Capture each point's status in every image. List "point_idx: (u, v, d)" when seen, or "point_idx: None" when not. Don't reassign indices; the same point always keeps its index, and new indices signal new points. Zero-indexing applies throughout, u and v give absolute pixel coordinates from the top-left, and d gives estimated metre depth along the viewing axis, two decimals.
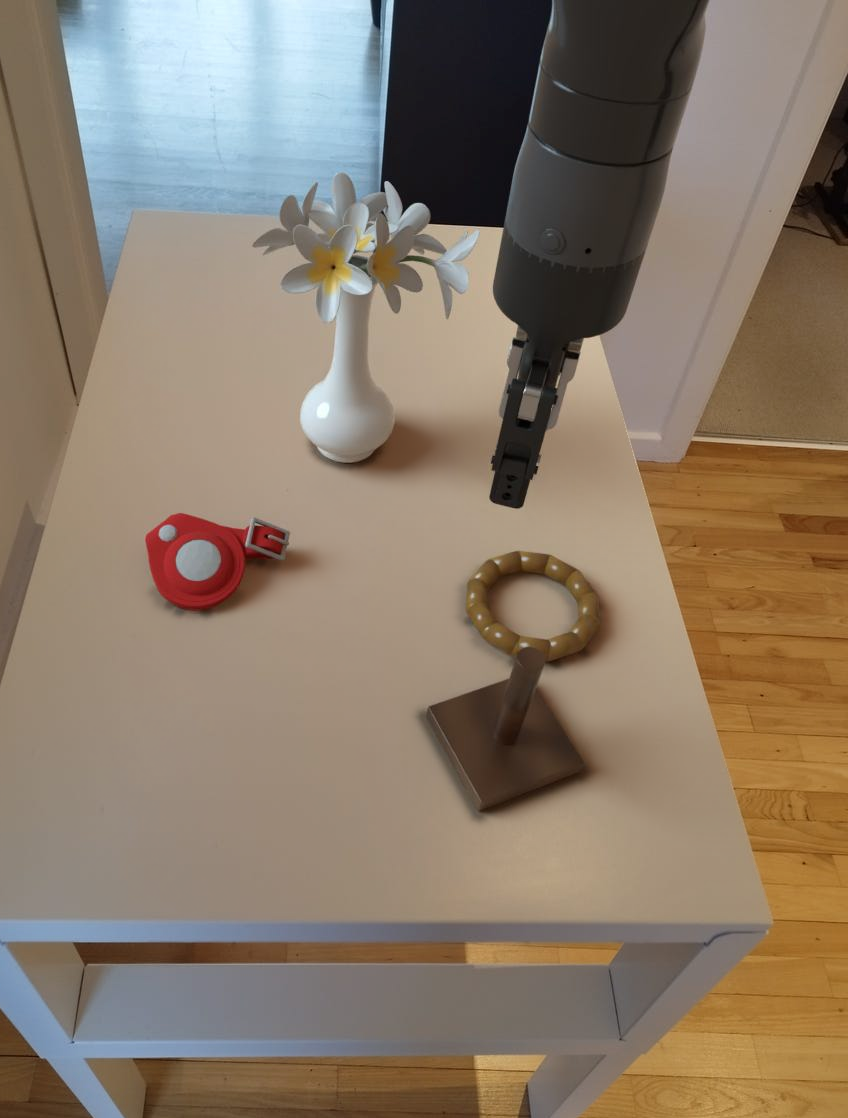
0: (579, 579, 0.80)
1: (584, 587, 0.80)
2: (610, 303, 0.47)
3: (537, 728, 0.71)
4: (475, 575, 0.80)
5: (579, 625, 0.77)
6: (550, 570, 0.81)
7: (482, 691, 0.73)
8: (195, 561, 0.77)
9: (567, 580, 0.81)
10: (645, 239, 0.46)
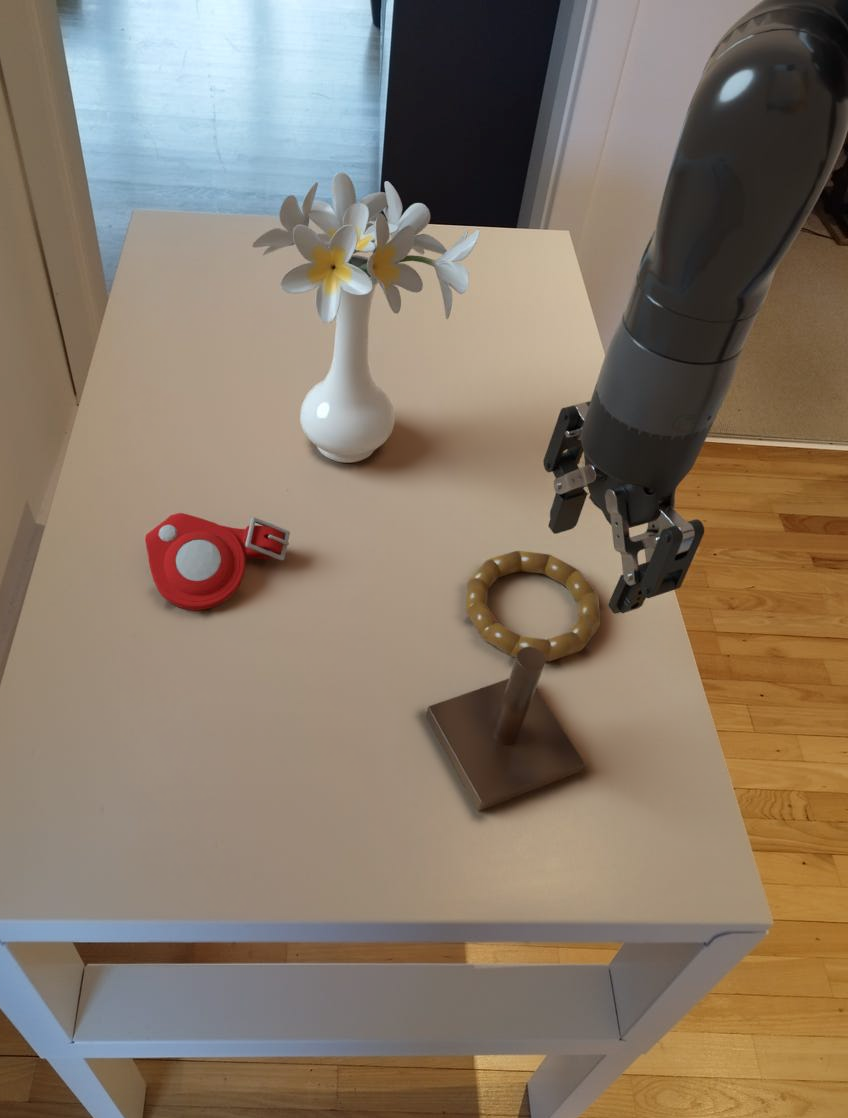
0: (579, 579, 0.80)
1: (584, 587, 0.80)
2: None
3: (537, 728, 0.71)
4: (475, 575, 0.80)
5: (579, 625, 0.77)
6: (550, 570, 0.81)
7: (482, 691, 0.73)
8: (195, 561, 0.77)
9: (567, 580, 0.81)
10: None
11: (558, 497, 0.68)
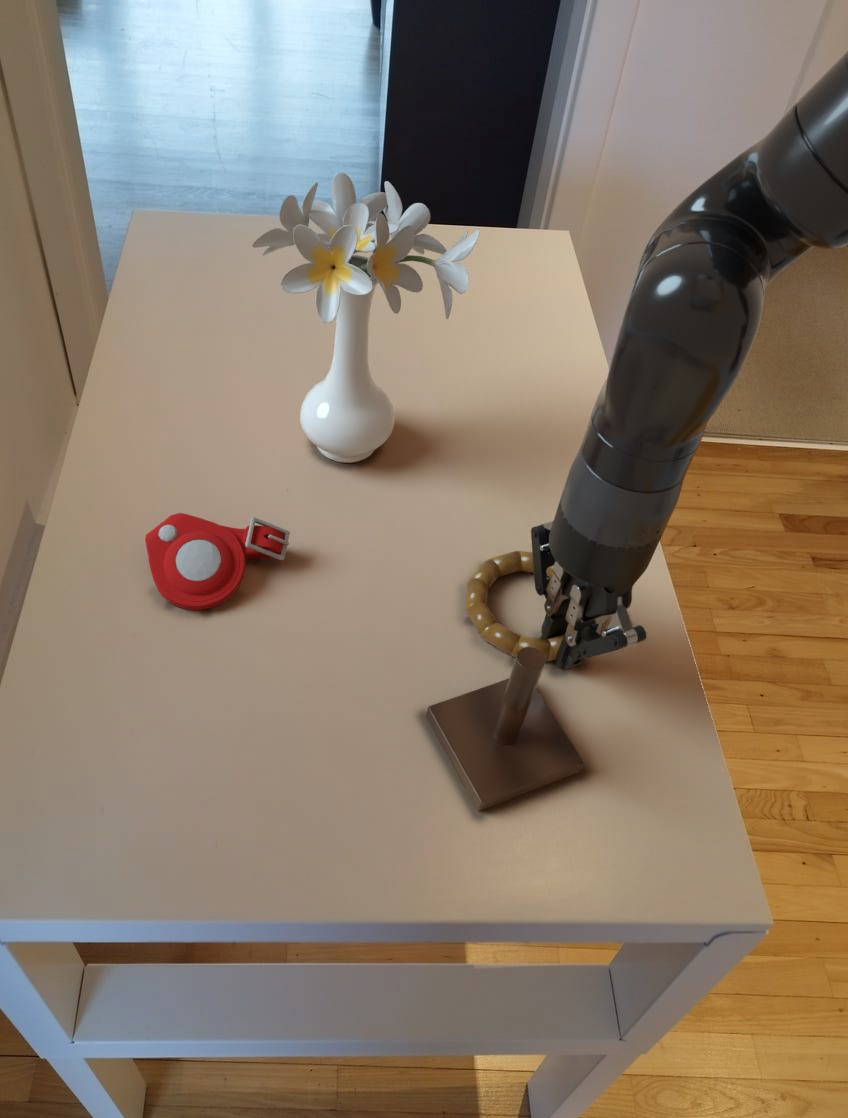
0: None
1: None
2: None
3: (537, 728, 0.71)
4: (475, 575, 0.80)
5: None
6: (550, 570, 0.81)
7: (482, 691, 0.73)
8: (195, 561, 0.77)
9: None
10: None
11: (548, 617, 0.75)
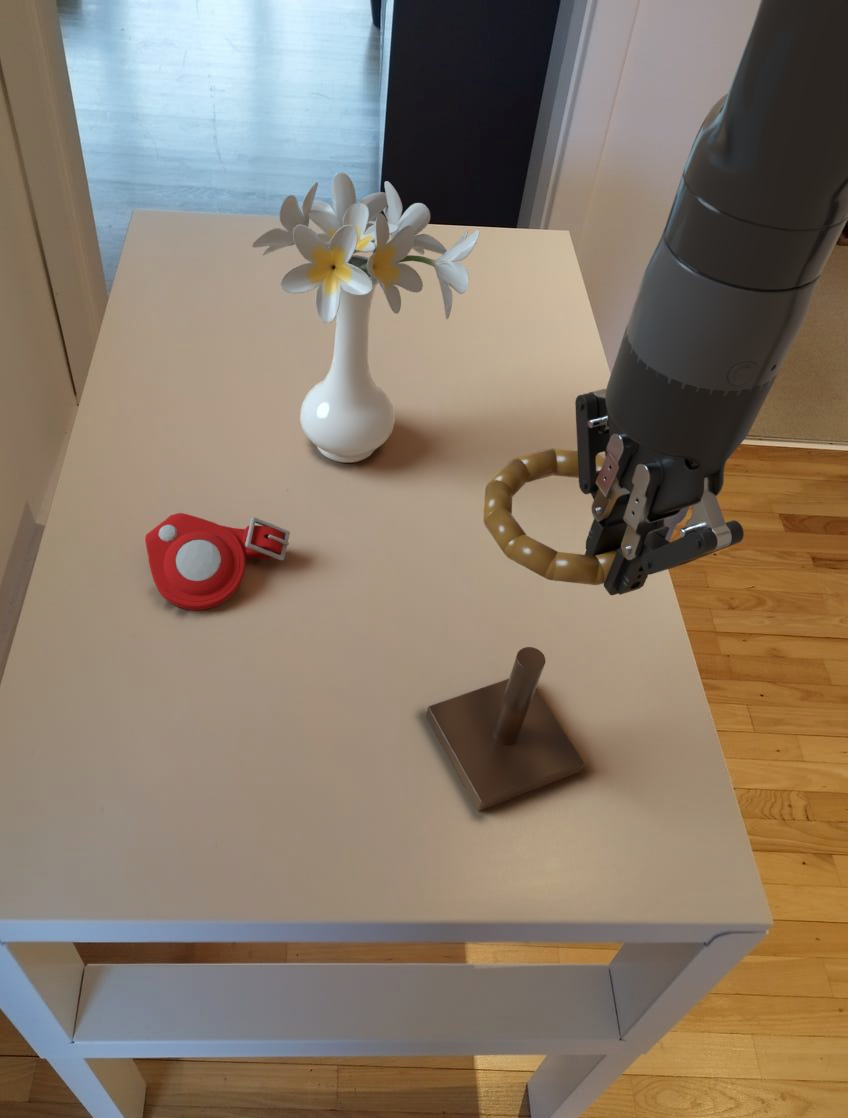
0: None
1: None
2: None
3: (537, 728, 0.71)
4: (496, 477, 0.60)
5: None
6: None
7: (482, 691, 0.73)
8: (195, 561, 0.77)
9: None
10: None
11: (597, 524, 0.55)
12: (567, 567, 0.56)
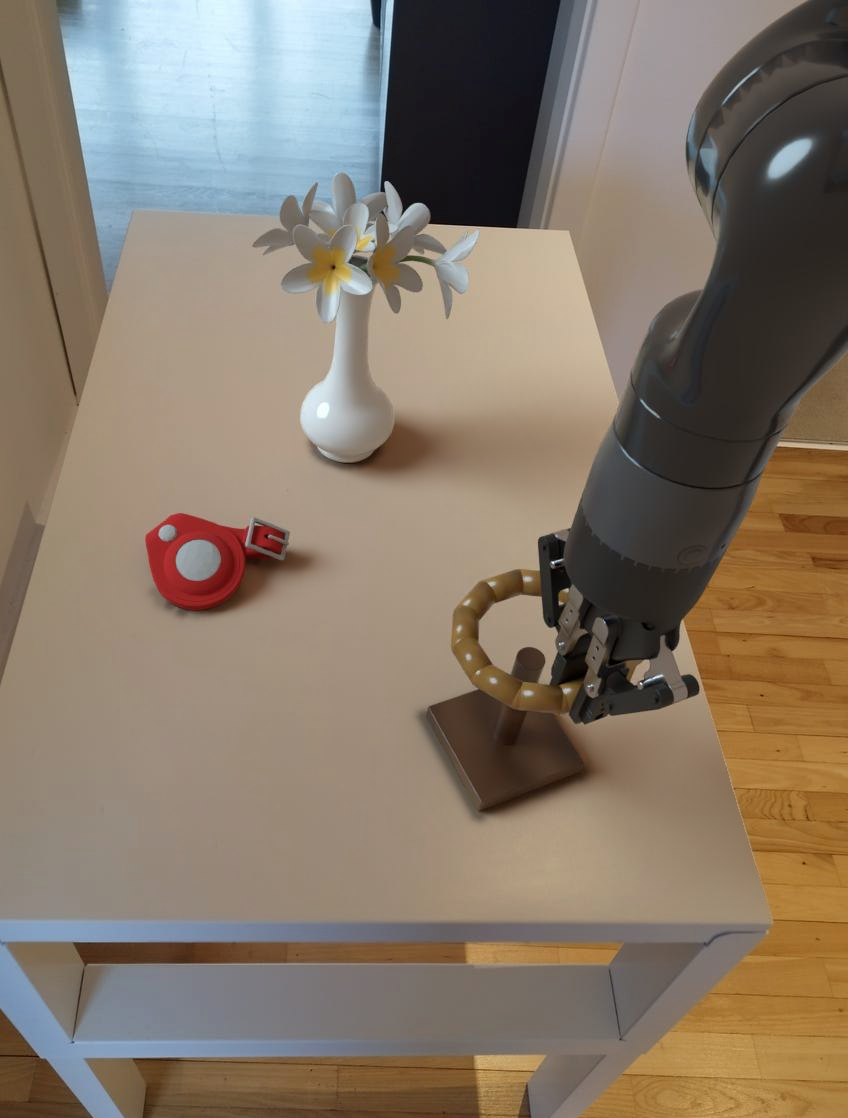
0: None
1: None
2: None
3: (537, 728, 0.71)
4: (463, 602, 0.61)
5: None
6: (561, 593, 0.63)
7: (482, 691, 0.73)
8: (195, 561, 0.77)
9: None
10: None
11: (561, 657, 0.56)
12: (532, 699, 0.57)
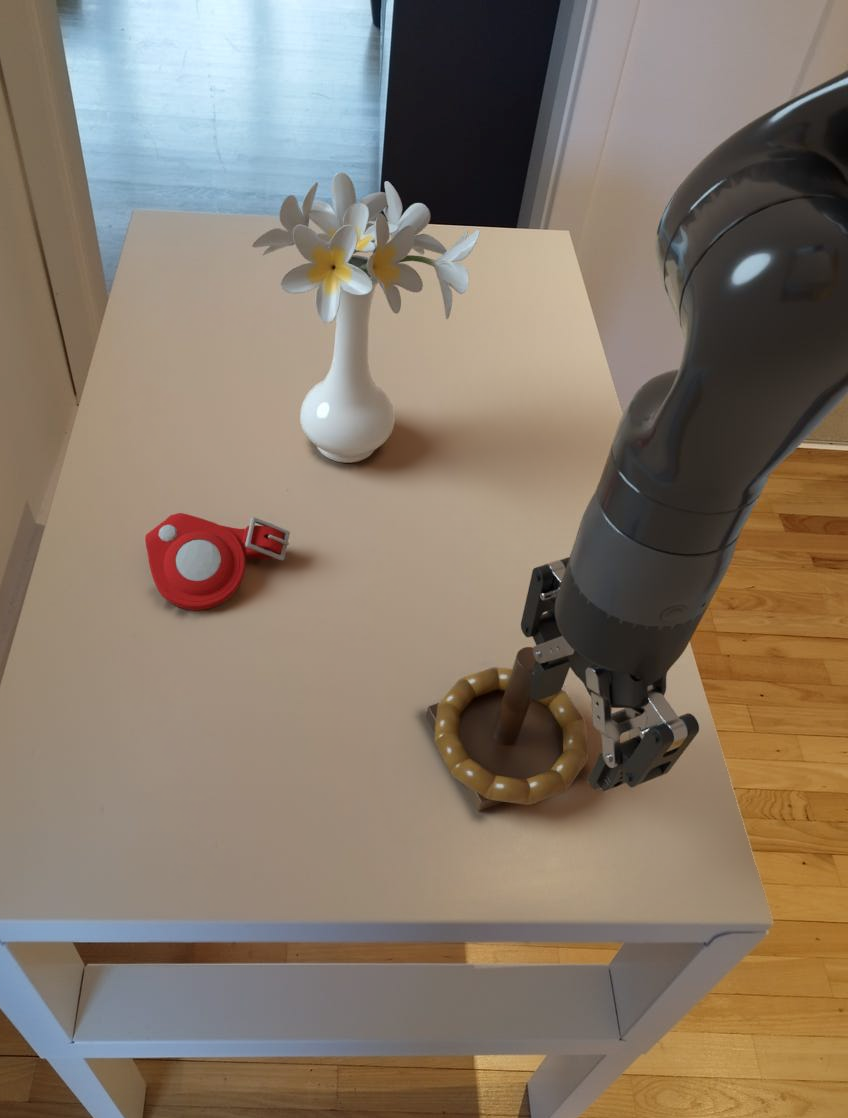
0: (565, 703, 0.70)
1: (570, 714, 0.70)
2: None
3: (537, 728, 0.71)
4: (446, 698, 0.70)
5: (563, 762, 0.67)
6: None
7: None
8: (195, 561, 0.77)
9: (551, 704, 0.71)
10: None
11: (538, 665, 0.59)
12: (503, 792, 0.66)
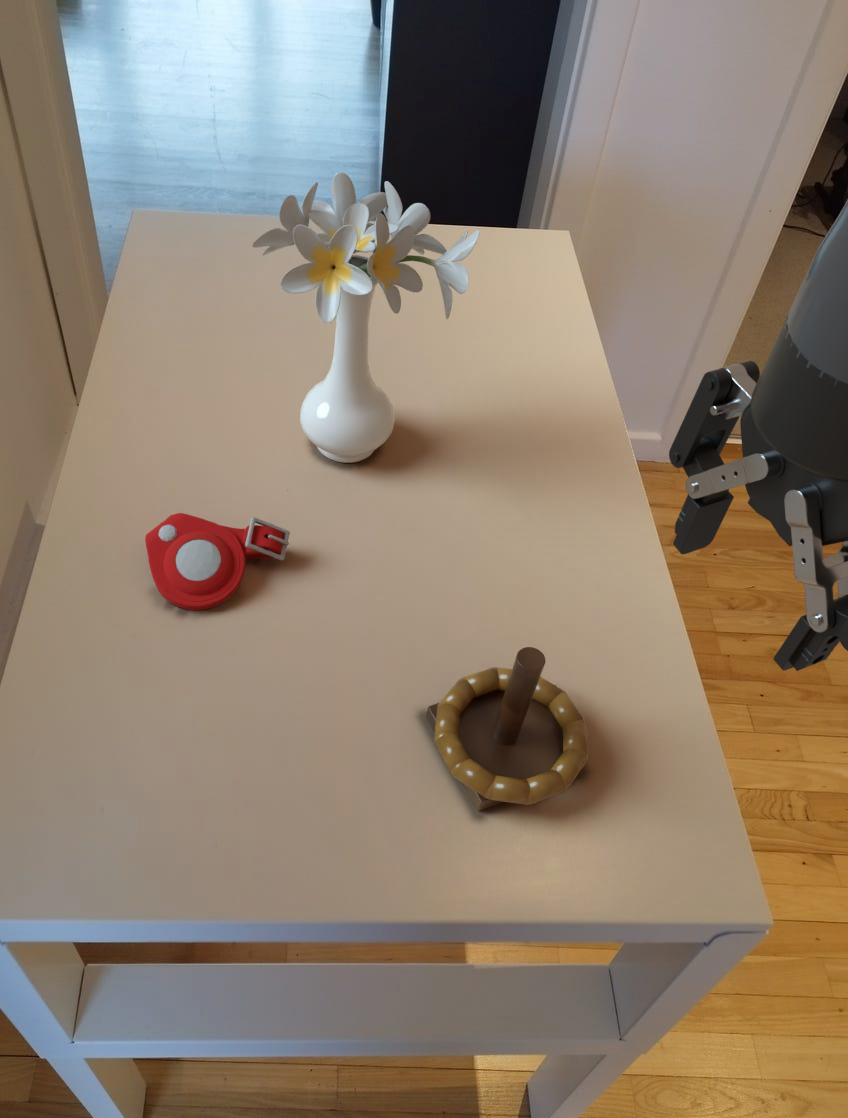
0: (565, 703, 0.70)
1: (570, 714, 0.70)
2: None
3: (537, 728, 0.71)
4: (446, 698, 0.70)
5: (563, 762, 0.67)
6: None
7: None
8: (195, 561, 0.77)
9: (551, 704, 0.71)
10: None
11: (692, 503, 0.47)
12: (503, 792, 0.66)
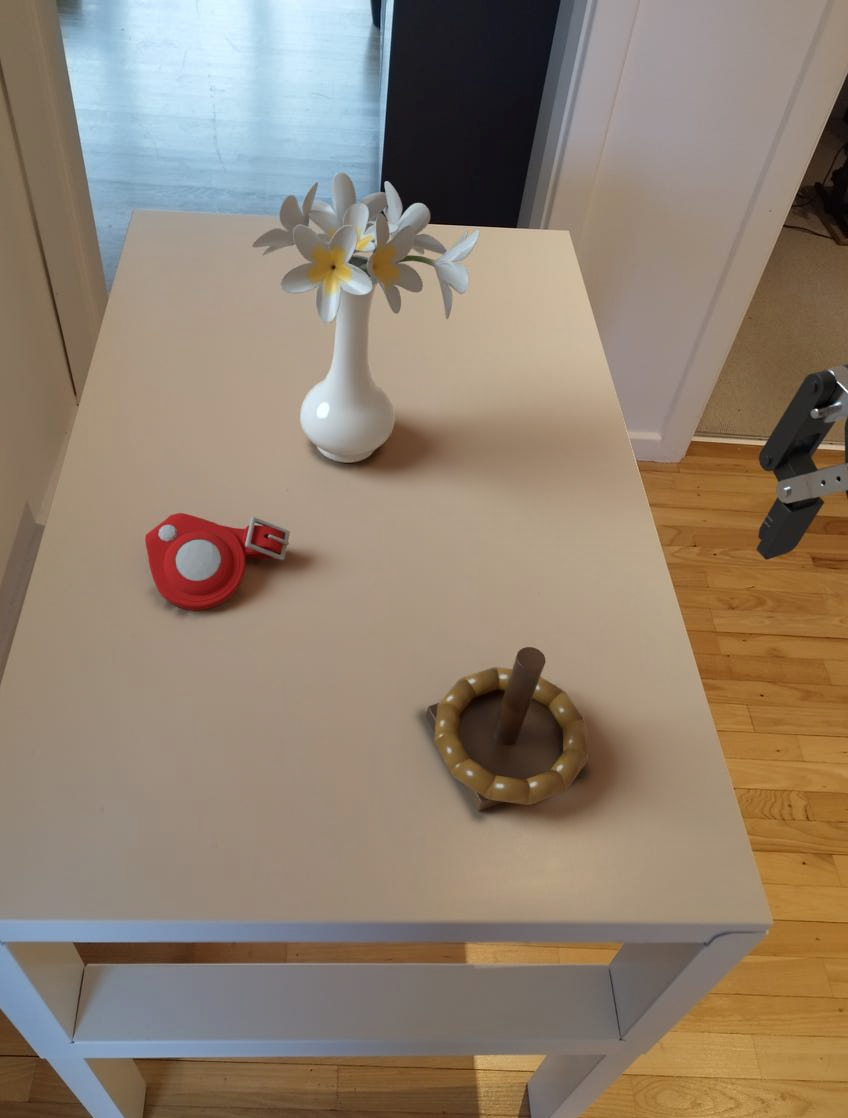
0: (565, 703, 0.70)
1: (570, 714, 0.70)
2: None
3: (537, 728, 0.71)
4: (446, 698, 0.70)
5: (563, 762, 0.67)
6: None
7: None
8: (195, 561, 0.77)
9: (551, 704, 0.71)
10: None
11: (783, 507, 0.46)
12: (503, 792, 0.66)
